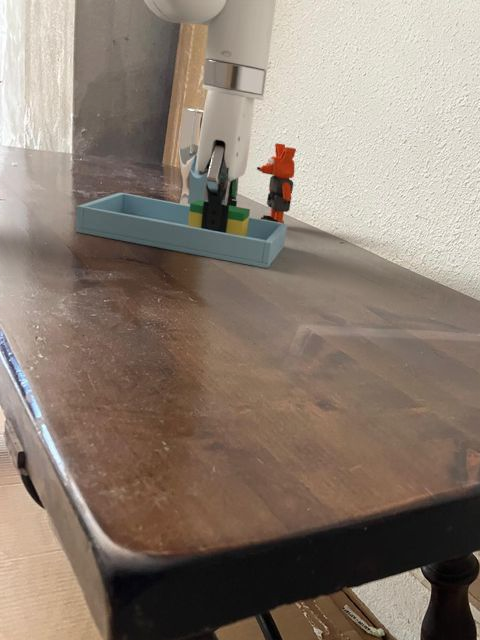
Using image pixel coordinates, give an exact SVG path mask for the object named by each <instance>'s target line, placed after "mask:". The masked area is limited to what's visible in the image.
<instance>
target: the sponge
mask: <svg viewBox="0 0 480 640" xmlns="http://www.w3.org/2000/svg"><path fill="white" fill-rule="evenodd" d="M203 203H204V201H203V200H197V201H195V202H193V203H191V204H190V213H189V223H188V226H191V227H196V228H201V223H202V213H203ZM250 211H251V209H250V208H245V207H240V206H236V207H235V206H230V205H229V213H228V221H227V230H226V233H228V234H233V235H239V236H244V237H246V236H247V228H248V221H249V217H250V213H251V212H250Z"/></svg>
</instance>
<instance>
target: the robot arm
mask: <svg viewBox="0 0 480 640" xmlns="http://www.w3.org/2000/svg"><path fill="white" fill-rule="evenodd" d="M143 1H144V3H145V5H146V6H147V8H148V9H149V10H150V11H151V12H152V13H153V14H154V15H156V16H157V17H158V18H160V19H162V20H164V21H167V22H169V23H173V24H192V25H202V26H207V35H206V44H205V45H206V47H205V58H204V66H203V76H202V77H203V78H202V87H201V89H202V90H206V91H207V93H206V97H205V102H204V105H203V106H204V107H203V110H204V112H203V117H202V124H201V131H200V138H199V145H198V153H197V160H196V168H195V170H196V172H197V174H198V175H200V176H202V175H205V174H208V176H207V184H206V190H205V197H204V203H203V213H202V223H201V228H202V229H207V230H212V231H217V232H223V233H226V230H227V221H228V213H229V205H230V206H235V207H237V205H238V200H237V198H238V187H239V178H241V177H242V176H244V175H245V173H246V170H247V165H248V159H249V152H250V146H251V145H250V144H251V136H252V129H253V127H252V126H253V117H254V109H255V100H260V101H264V97H265V87H266V82H267V81H266V80H267V72H268V65H269V57H270V50H271V43H272V42H271V41H272V34H273V27H274V26H273V25H274V19H275V10H276V3H277V0H143Z"/></svg>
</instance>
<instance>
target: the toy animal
mask: <svg viewBox="0 0 480 640" xmlns="http://www.w3.org/2000/svg"><path fill="white" fill-rule="evenodd" d="M274 149H275V151H274V154H275V156H273V155H272V156H271V157H268V159H267V162H266V163H265V165H264V164H263V165H261V167H260V166H257V167H256V170H257V171H259V172H261V173H262V174H265V175H270V177H269V178H270V179H269V185H268V191H269V192H268V194H267V199H266V205H267V207H268V208H269V209H270V215H265V214H263V216H260V219H263V220H268V221H274V222H279V223H284V224H285V221H284V214H285V213H288V212H289V211H290V208H291V203H292V201H291V200H292V194H293V188H294V181H293V180H292V179H293V178H294V177H295V172H296V171H295V160H294V157H295V154H296V152H297V148H295V147H288V146H286V144H284V143H278V142H275V144H274Z"/></svg>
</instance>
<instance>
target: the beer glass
mask: <svg viewBox="0 0 480 640" xmlns="http://www.w3.org/2000/svg"><path fill="white" fill-rule="evenodd" d="M203 112H204V109H201V108H193V107H183V110H182V116H181V122H180V127H179V137H178V164H179V177H180V192H179V199H178V203H179V204H184V205H189V206H190V204H191V203H193V202H195V201H197V200H203V201H204V197H205V190H206V184H207V176H208V174H205V175H202V176H200V175H198V174H197V172H196V170H195V168H196V160H197V153H198V145H199V138H200V131H201V124H202V117H203Z"/></svg>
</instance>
